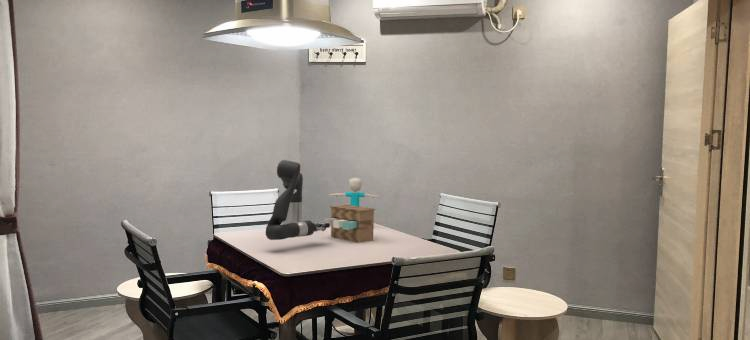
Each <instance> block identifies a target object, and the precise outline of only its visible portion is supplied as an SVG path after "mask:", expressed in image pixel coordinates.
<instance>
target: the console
mask: <svg viewBox="0 0 750 340" xmlns="http://www.w3.org/2000/svg"><path fill="white" fill-rule="evenodd" d="M329 207H330V219H331V218H339V220H344V219H348V222H350V221H358V228H353V229H349V230H344V229H343V227H340V228H334V227H333V225H332V226H330V238H334V239H338V240H343V239H344V241H348V240H349V242H353V241H354V242H353V243H358V242H359V244H360V243H361V242H362V243H366V242H367V241H368V242H373V241H374V228H375V226H374V222H375V221H374V219H375V217H374V216H375V215H374V214H375V211H376V208H372V207H371V208H370V207H365V206H360V205H359V206H352V205H350V204H337V205H329ZM368 242H367V243H368Z"/></svg>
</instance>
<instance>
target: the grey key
mask: <svg viewBox="0 0 750 340" xmlns="http://www.w3.org/2000/svg"><path fill="white" fill-rule="evenodd" d="M333 220H339V218H331V217H330V218H324V222H323V223H329V224H330V227H331V226H332V225H333Z"/></svg>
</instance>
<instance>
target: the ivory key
mask: <svg viewBox="0 0 750 340" xmlns="http://www.w3.org/2000/svg"><path fill="white" fill-rule="evenodd" d="M343 222H348V219H344V220H333V227H334V228H340V227H343Z"/></svg>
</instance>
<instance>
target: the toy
mask: <svg viewBox="0 0 750 340" xmlns="http://www.w3.org/2000/svg"><path fill="white" fill-rule="evenodd" d="M348 185H349V189H350V191H351V192H349V191H347V192H346V191H345V192H341V193H340V192H339V193H337V192H336V193H329V194H328V196H329V197H330V196H331V197H336V198H338V196H339V197H345V198H347V197H348V198H349V197H350V203H349V205H352V206H359V207H360V198H368V197H371V198H373V199H375V198H380V197H382V196H381V195H379V194H378V195H377V194H374V193H373V194H370V193H365V192H358V191H361V189H362V179H361V178H358V177H352V178H350V179H349V181H348Z"/></svg>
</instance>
